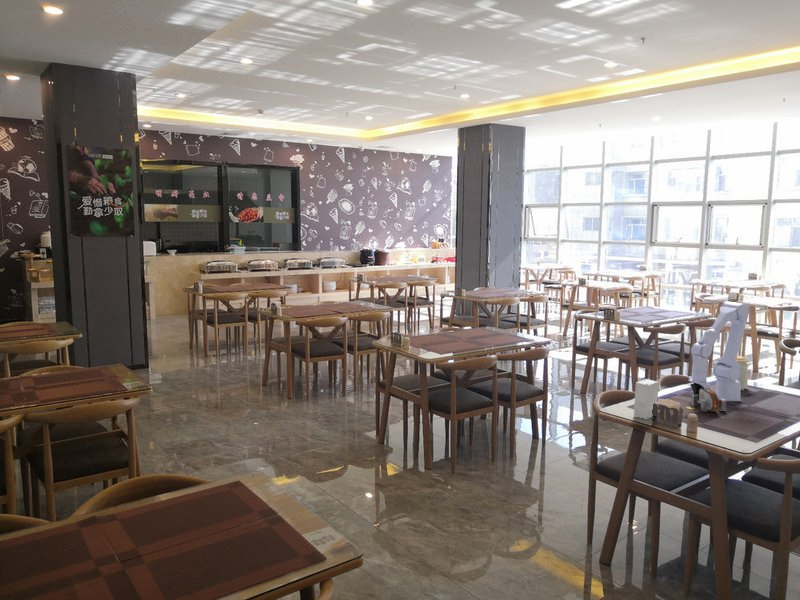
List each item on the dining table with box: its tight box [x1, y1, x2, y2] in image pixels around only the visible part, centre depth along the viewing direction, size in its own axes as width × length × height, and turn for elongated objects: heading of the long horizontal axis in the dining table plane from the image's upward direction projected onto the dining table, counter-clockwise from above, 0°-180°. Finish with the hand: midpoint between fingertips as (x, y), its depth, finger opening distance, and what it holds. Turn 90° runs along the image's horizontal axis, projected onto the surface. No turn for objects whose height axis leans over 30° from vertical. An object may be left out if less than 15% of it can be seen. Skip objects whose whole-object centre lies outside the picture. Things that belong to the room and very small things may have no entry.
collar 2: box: [700, 399, 727, 413], centre depth 263 cm, size 10×2×5 cm, turn 92°
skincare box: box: [633, 378, 660, 420], centre depth 254 cm, size 8×6×15 cm
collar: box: [690, 393, 699, 407], centre depth 271 cm, size 10×2×5 cm, turn 92°
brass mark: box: [685, 406, 697, 411], centre depth 267 cm, size 4×4×1 cm
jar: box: [720, 354, 750, 391], centre depth 301 cm, size 13×13×18 cm
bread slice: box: [698, 388, 719, 413], centre depth 266 cm, size 15×3×8 cm, turn 176°
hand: (697, 400), depth 275 cm, fingers closed
